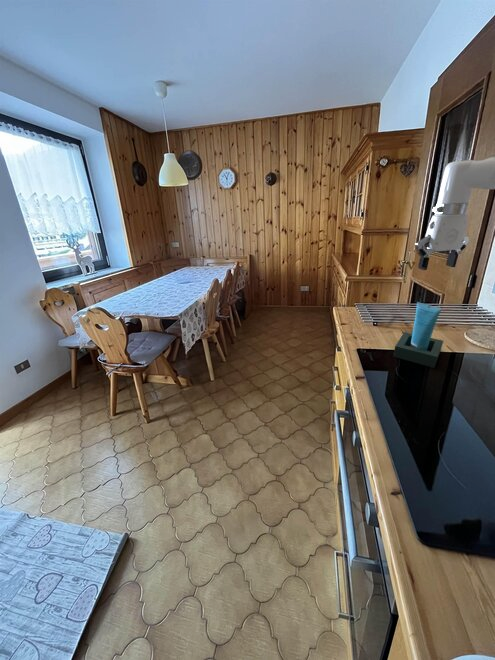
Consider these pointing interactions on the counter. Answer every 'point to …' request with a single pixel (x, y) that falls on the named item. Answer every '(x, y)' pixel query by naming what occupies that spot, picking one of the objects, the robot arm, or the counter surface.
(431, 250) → the robot arm
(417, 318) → the tube
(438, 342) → the dark green square tray
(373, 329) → the counter surface
